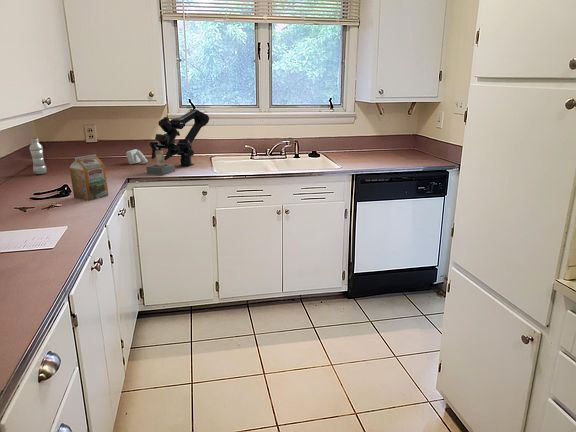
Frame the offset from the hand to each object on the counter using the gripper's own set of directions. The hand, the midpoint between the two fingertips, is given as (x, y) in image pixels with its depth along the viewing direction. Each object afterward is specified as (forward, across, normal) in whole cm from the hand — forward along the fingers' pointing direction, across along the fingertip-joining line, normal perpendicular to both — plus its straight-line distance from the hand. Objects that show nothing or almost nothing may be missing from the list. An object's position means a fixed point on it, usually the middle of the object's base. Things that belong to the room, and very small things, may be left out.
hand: (158, 159), depth 254 cm
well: (+5, 0, +6) cm, 8 cm away
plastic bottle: (+29, -57, -18) cm, 67 cm away
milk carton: (+44, +7, -32) cm, 55 cm away
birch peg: (+5, 0, +6) cm, 8 cm away
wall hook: (-5, -30, +16) cm, 34 cm away
